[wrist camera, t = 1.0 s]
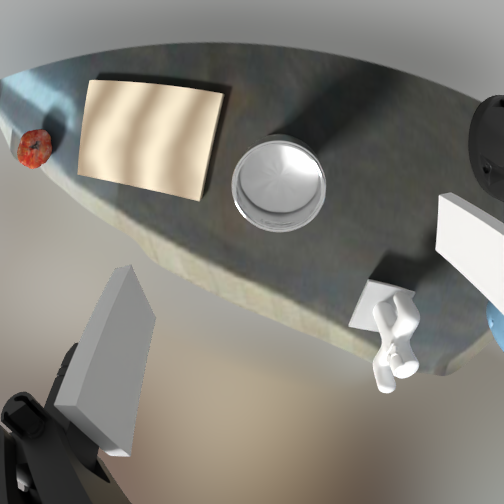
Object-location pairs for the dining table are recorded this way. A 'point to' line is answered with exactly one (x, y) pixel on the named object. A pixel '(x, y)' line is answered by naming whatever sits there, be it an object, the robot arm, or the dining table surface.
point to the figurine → (389, 329)
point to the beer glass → (279, 183)
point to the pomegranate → (34, 148)
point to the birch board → (149, 135)
